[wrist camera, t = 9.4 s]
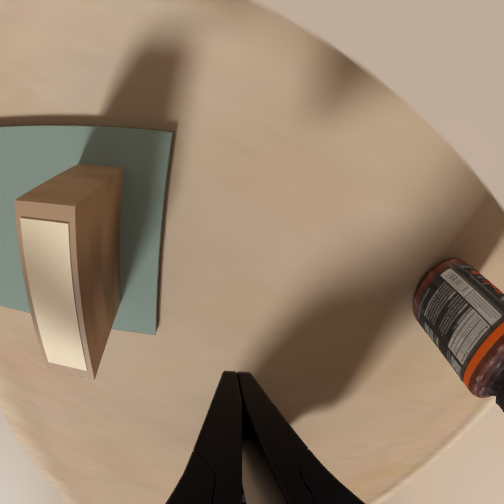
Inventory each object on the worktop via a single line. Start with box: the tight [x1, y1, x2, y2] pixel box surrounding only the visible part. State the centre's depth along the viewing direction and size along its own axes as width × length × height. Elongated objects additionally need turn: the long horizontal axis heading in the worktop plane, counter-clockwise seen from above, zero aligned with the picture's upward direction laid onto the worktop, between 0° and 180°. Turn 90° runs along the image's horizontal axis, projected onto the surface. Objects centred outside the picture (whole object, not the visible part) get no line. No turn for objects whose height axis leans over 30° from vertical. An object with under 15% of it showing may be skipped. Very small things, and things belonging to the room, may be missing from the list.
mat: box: [0, 125, 173, 335], centre depth 15 cm, size 12×12×1 cm
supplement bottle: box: [413, 259, 504, 412], centre depth 16 cm, size 6×6×11 cm
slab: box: [14, 164, 124, 380], centre depth 13 cm, size 8×2×6 cm, turn 168°
